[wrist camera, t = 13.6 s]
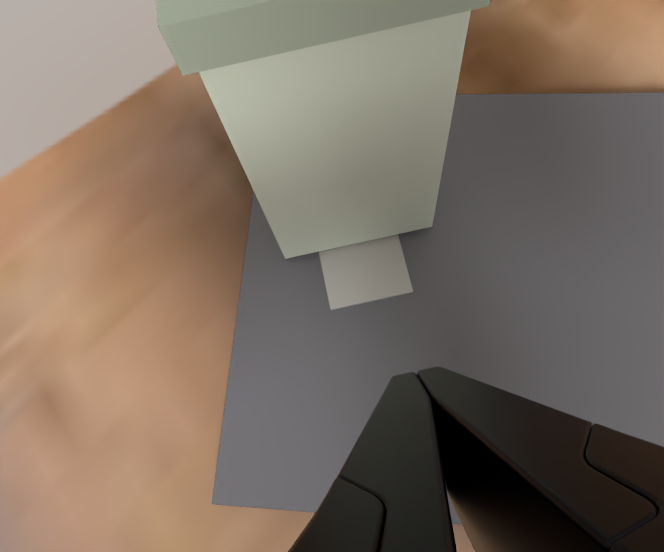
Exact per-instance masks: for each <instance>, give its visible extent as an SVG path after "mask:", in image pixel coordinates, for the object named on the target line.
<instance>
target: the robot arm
mask: <svg viewBox="0 0 664 552" xmlns="http://www.w3.org/2000/svg"><path fill="white" fill-rule="evenodd" d="M447 492H448V495H449V497H450V499H451V502H452V504H453V506H454V508H455V510H456V512H457V514H458V516H459V519H460V521H461V523H462V525H463V527H464V529H465V531H466V533H467V535H468V537H469V539H470V541H471V543H472V545H473V548H474V550H475V552H664V446H660V445H657V444H654V443H651V442H648V441H645V440H642V439H640V438H637V437H634V436H631V435H628V434H625V433H622V432H619V431H616V430H614V429H611V428H608V427H606V426H603V425H600V424H597V423H596V424H594V425H593V423H592V422H589V421H587V420H584V419H581V418H579V417H576V416H573V415H570V414H568V413H565V412H562V411H560V410H557V409H554V408H551V407H549V406H546V405H543V404H541V403H538V402H535V401H532V400H530V399H527V398H524V397H522V396H519V395H516V394H513V393H511V392H508V391H505V390H503V389H500V388H497V387H494V386H492V385H489V384H486V383H484V382H481V381H478V380H475V379H473V378H470V377H467V376H464V375H462V374H459V373H456V372H454V371H451V370H448V369H445V368H443V367H439V366H436V367H432V368H427V369H422V370H419V371H418V372H417V375H416V374H415V373H414V372H408V373H404V374H399V375H395V376H393V377H392V378H391V379H390V381H389V383H388V385H387V386H386V388H385V390H384V392H383V394H382V396H381V397H380V399H379V401H378V403H377V405H376V406H375V408H374V410H373V412H372V414H371V416H370V417H369V419H368V421H367V423H366V425H365V427H364V428H363V430H362V432H361V434H360V436H359V438H358V439H357V441H356V443H355V445H354V447H353V449H352V450H351V452H350V454H349V456H348V458H347V459H346V461H345V463H344V465H343V467H342V469H341V470H340V472H339V474H338V476H337V478H336V479H335V480H334V482H333V483H332V485H331V487H330V489H329V491H328V492H327V494H326V496H325V498H324V499H323V501H322V502H321V504H320V506H319V507H318V509H317V511H316V512H315V514H314V516H313V517H312V519H311V520H310V522H309V523H308V524H307V526H306V527H305V529H304V530H303V532H302V533H301V534H300V536H299V537H298V539H297V540H296V541H295V543H294V544H293V546H292V547H291V548H290V550H289V551H288V552H457V551H456V544H455V538H454V532H453V526H452V520H451V514H450V508H449V502H448V495H447Z"/></svg>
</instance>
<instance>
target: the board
mask: <svg viewBox="0 0 664 552" xmlns="http://www.w3.org/2000/svg"><path fill="white" fill-rule="evenodd" d="M436 366H439V367H443V368H445V369H448V370H451V371H454V372H456V373H459V374H462V375H464V376H467V377H470V378H473V379H475V380H478V381H481V382H484V383H486V384H489V385H492V386H494V387H497V388H500V389H503V390H505V391H508V392H511V393H513V394H516V395H519V396H522V397H524V398H527V399H530V400H532V401H535V402H538V403H541V404H543V405H546V406H549V407H551V408H554V409H557V410H560V411H562V412H565V413H568V414H570V415H573V416H576V417H579V418H581V419H584V420H587V421H589V422H592V423H593V425H594V424H596V423H597V424H600V425H603V426H606V427H608V428H611V429H614V430H616V431H619V432H622V433H625V434H628V435H631V436H634V437H637V438H640V439H642V440H645V441H648V442H651V443H654V444H657V445H660V446H664V93H556V94H456V96H455V102H454V108H453V113H452V119H451V124H450V130H449V136H448V141H447V147H446V152H445V158H444V163H443V169H442V175H441V180H440V186H439V191H438V197H437V202H436V208H435V214H434V219H433V225H432V227H428V228H424V229H419V230H415V231H410V232H406V233H401V234H396V235H392V236H387V237H383V238H378V239H374V240H369V241H365V242H360V243H355V244H351V245H346V246H342V247H337V248H333V249H328V250H324V251H319V252H314V253H310V254H305V255H301V256H296V257H292V258H287V259H285V257H284V255H283V253H282V251H281V249H280V247H279V244H278V242H277V240H276V238H275V236H274V234H273V231H272V229H271V227H270V225H269V223H268V221H267V219H266V216H265V214H264V212H263V210H262V208H261V206H260V203H259V201H258V199H257V197H256V195H255V193H254V191H253V199H252V206H251V214H250V221H249V229H248V236H247V244H246V251H245V259H244V266H243V273H242V281H241V288H240V296H239V303H238V311H237V318H236V326H235V333H234V341H233V348H232V356H231V363H230V371H229V378H228V386H227V393H226V400H225V408H224V415H223V423H222V430H221V438H220V445H219V453H218V460H217V468H216V475H215V483H214V490H213V498H212V504H216V505H228V506H241V507H253V508H265V509H278V510H290V511H303V512H316V511H317V509H318V507H319V506H320V504H321V502H322V501H323V499H324V498H325V496H326V494H327V492H328V491H329V489H330V487H331V485H332V483H333V482H334V480H335V479H336V478H337V476H338V474H339V472H340V470H341V469H342V467H343V465H344V463H345V461H346V459H347V458H348V456H349V454H350V452H351V450H352V449H353V447H354V445H355V443H356V441H357V439H358V438H359V436H360V434H361V432H362V430H363V428H364V427H365V425H366V423H367V421H368V419H369V417H370V416H371V414H372V412H373V410H374V408H375V406H376V405H377V403H378V401H379V399H380V397H381V396H382V394H383V392H384V390H385V388H386V386H387V385H388V383H389V381H390V379H391V378H392V377H393V376H395V375H399V374H404V373H408V372H414V373H415V374H416V375H417V372H418V371H419V370H422V369H427V368H432V367H436ZM447 495H448V492H447ZM448 502H449V508H450V514H451V520H452V524H462V523H461V521H460V519H459V516H458V514H457V512H456V510H455V508H454V506H453V504H452V502H451V499H450V497H449V495H448Z"/></svg>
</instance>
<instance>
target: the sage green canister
mask: <svg viewBox="0 0 664 552" xmlns="http://www.w3.org/2000/svg"><path fill="white" fill-rule="evenodd" d="M490 2H491V0H156V10H157V20H158V27H159V30H160V31H161V33H162V35H163V37H164V39H165V41H166V43H167V45H168V47H169V49H170V51H171V53H172V55H173V57H174V59H175V61H176V63H177V65H178V67H179V69H180V71H181V73H182V75H183V76H184V75H188V74H193V73H197V72H199V74H200V76H201V78H202V81H203V83H204V85H205V87H206V89H207V91H208V94H209V96H210V98H211V100H212V102H213V104H214V106H215V109H216V111H217V113H218V115H219V117H220V119H221V122H222V124H223V126H224V128H225V130H226V132H227V134H228V137H229V139H230V141H231V143H232V145H233V147H234V150H235V152H236V154H237V156H238V158H239V160H240V162H241V165H242V167H243V169H244V171H245V173H246V175H247V178H248V180H249V182H250V184H251V186H252V188H253V190H254V193H255V195H256V197H257V199H258V201H259V203H260V206H261V208H262V210H263V212H264V214H265V216H266V219H267V221H268V223H269V225H270V227H271V229H272V231H273V234H274V236H275V238H276V240H277V242H278V244H279V247H280V249H281V251H282V253H283V255H284V257H285V259H287V258H292V257H296V256H301V255H305V254H310V253H314V252H319V251H324V250H328V249H333V248H337V247H342V246H346V245H351V244H355V243H360V242H365V241H369V240H374V239H378V238H383V237H387V236H392V235H396V234H401V233H406V232H410V231H415V230H419V229H424V228H428V227H432V225H433V219H434V214H435V208H436V202H437V197H438V191H439V186H440V180H441V175H442V169H443V163H444V158H445V152H446V147H447V141H448V136H449V130H450V124H451V119H452V113H453V108H454V102H455V96H456V91H457V85H458V80H459V74H460V69H461V63H462V57H463V52H464V46H465V41H466V35H467V29H468V24H469V18H470V13H471V10H474V9H479V8H483V7H488V6H490Z"/></svg>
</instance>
